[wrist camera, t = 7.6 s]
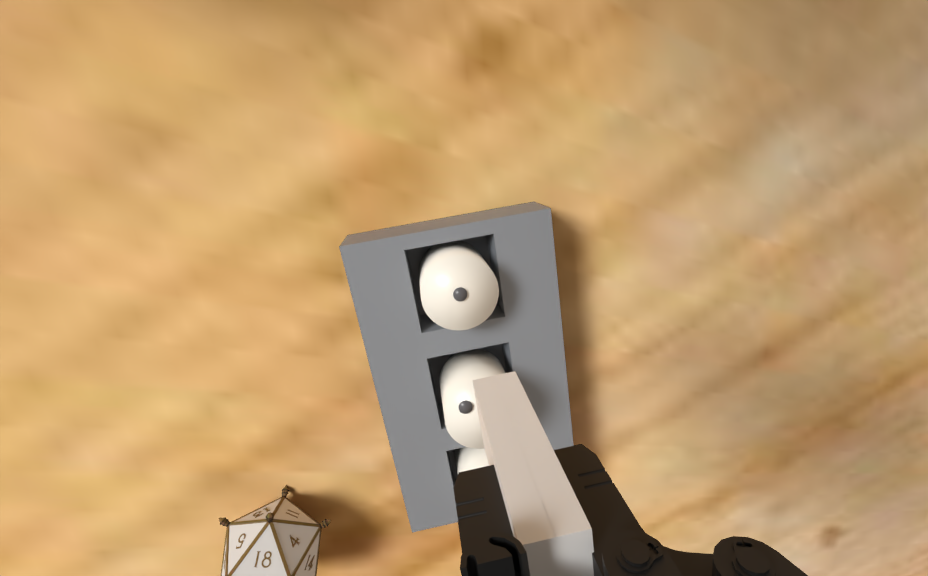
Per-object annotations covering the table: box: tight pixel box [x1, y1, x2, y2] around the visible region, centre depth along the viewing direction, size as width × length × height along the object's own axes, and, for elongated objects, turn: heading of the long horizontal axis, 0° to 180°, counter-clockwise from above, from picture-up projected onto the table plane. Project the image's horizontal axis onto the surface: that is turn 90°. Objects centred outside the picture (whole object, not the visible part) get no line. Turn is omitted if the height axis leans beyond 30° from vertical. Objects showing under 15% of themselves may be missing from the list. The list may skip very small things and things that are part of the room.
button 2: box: [439, 349, 505, 449], centre depth 31 cm, size 5×5×5 cm
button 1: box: [419, 240, 499, 330], centre depth 30 cm, size 5×5×5 cm
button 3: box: [454, 447, 489, 473], centre depth 35 cm, size 5×5×5 cm
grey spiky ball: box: [219, 485, 331, 576], centre depth 35 cm, size 9×8×10 cm
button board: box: [339, 202, 574, 532], centre depth 34 cm, size 24×14×4 cm, turn 9°
